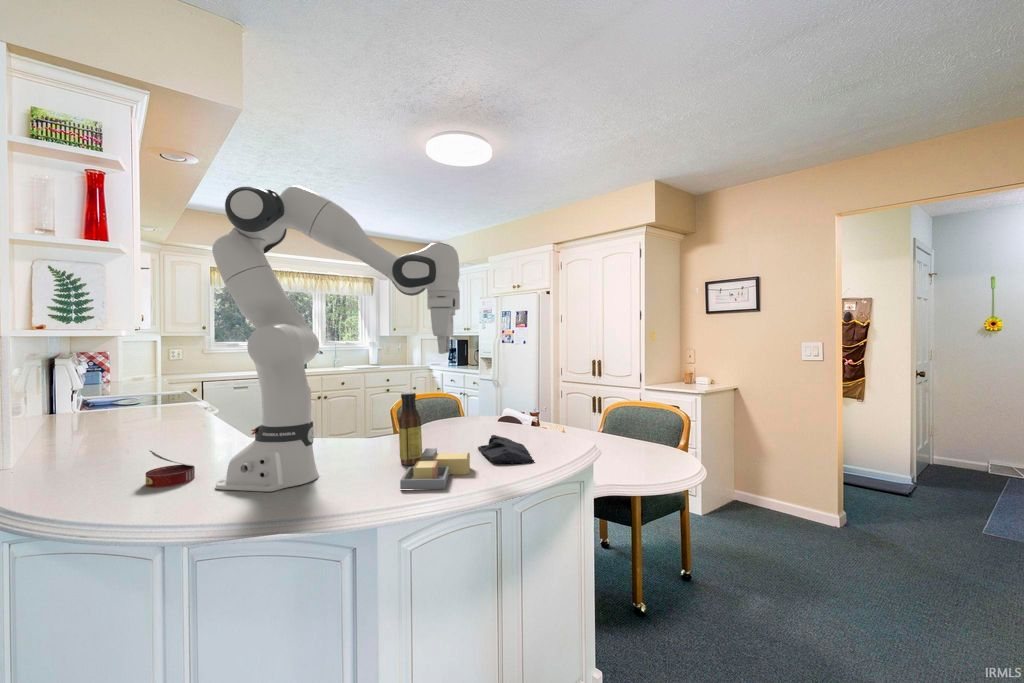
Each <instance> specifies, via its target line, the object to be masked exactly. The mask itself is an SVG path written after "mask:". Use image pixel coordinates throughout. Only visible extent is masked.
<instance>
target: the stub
mask: <svg viewBox="0 0 1024 683" xmlns="http://www.w3.org/2000/svg"><path fill="white" fill-rule="evenodd" d="M413 467H414V468H413V479H437V478H438V461H417V463H416V464H415V465H413Z"/></svg>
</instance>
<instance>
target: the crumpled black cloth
mask: <svg viewBox="0 0 1024 683" xmlns="http://www.w3.org/2000/svg"><path fill="white" fill-rule="evenodd" d="M477 449H478V451H479V452H480V453H481V454H482V456H485V457H486V458H487V460H489V461H491V462H492V463H493V464H494V463H495V464H524V463H527V464H533V463H532V462H534V461H535V460H534V459H532V458H533V457H532V455H531V454H530V452H529V450H528V449H527V448H526V446H525V445H524V444H523V443H520V442H516V441H513V440H512V439H511V438H510V439H509V438H507V437H503V436H500V435H496V434H491V435H490V438H489V439H488V444H486V445H485V444H484V445H480V446H477ZM530 455H531V456H530ZM534 463H535V462H534Z"/></svg>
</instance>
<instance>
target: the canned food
mask: <svg viewBox="0 0 1024 683" xmlns="http://www.w3.org/2000/svg"><path fill="white" fill-rule="evenodd" d="M149 452H150V453H151V454H152V456H154V457H156V458H159V459H160V460H164V461H167V462H170V463H175V465H167V466H161V467H156V468H153V469H150V470H148V471H146V472H145V486H146V487H147V488H153V489H154V488H169V487H175V486H179V485H182V484H187V483H189V482H191V481H194V479H195V476H196V474H195V465H194V464H186V463H181V462H177V461H174V460H171V459H167V458H166V457H163V456H161V455H159V454H157V453H156V452H153V451H152V450H149Z"/></svg>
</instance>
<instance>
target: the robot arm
mask: <svg viewBox="0 0 1024 683" xmlns="http://www.w3.org/2000/svg"><path fill="white" fill-rule="evenodd" d="M224 209H225V214H226V217H227V219H228V221H229V222H230V223H231V224H232V225H233V226H234V227H232V229H231V231H230V232H229V233H227V234H224V235H222V236H220V237H219V238H217V239H216V240H215V241H214V243H213V245H212V247H211V248H212V249H211V251H212V255H213V259H214V261H215V264H216V267H217V270H218V273H219V275H220V277H221V278H222V281H223V283H224V285H225V286H226V288H227V290H228V292H229V294H230V296H231V298H232V300H233V302H235V303H234V304H235V305H236V306H237V307H236V308H237V309H238V310H239V313H240V314H241V315H242V317H244V318H246V319H247V321H249V322H250V323H251V325H252V326H253V327H254V328H255V330H254V331H253V332H252V333H251V335H250V336H249V338H248V341H247V344H246V346H247V352H248V355H249V357H250V358H251V360H252V361H253V363H254V366H255V370H256V374H257V377H258V382H259V386H260V394H261V418H262V419H261V422H262V424H260V425H258V426H257V427H255V428H254V429H251V430H250V431H251V435H254V436H255V437H254V440H253V441H252V442H251V443H249V444H248V445H247V446H246V447H244V448H243V449H241V450H240V451H239V452H238V453H236V454H235V455H234V456H233V457H232V458H231V459H230V460H229V463H228V466H227V472H226V475H225V476H223V477H222V478H220V479H218V480H217V482H216V483H215V490H229V491H247V492H248V491H250V492H268V493H270V492H277V491H280V490H282V489H286V488H290V487H291V488H292V487H296V486H300V485H304V484H307V483H310V482H312V481H315V480H316V479H317V478H319V476H320V474H319V471H318V469H317V464H316V461H315V455H314V454H315V453H314V447H313V443H314V438H315V437H314V436H315V432H314V431H315V430H314V421H312V390H311V387H310V386H309V382H308V379H307V375H306V370H305V365H307V364H308V363H310V362H311V361H312V360H313V359H314V358H315V357H317V356H316V355H317V354H318V351H319V350H320V341H319V338H318V337H317V335H316V333H314V331H312V329H311V327H310V326H309V325H308V323H307V322H306V320H305V319H304V317H303V316H302V315H301V313H300V312H299V311H298V309H297V308H296V306H295V305H294V304H293V302H292V301H291V300H290V299H289V297H288V295H287V294H286V292H285V290H284V288H283V286H282V284H281V282H280V281H279V279H278V277H277V275H276V274H275V272H274V270H273V268H272V267H271V264H269V261H268V259H267V257H266V255H265V254H267V253H268V252H270V250H272V249H273V248H275V247H277V246H278V245H280V244H281V243H282V242H284V240H285V238H286V237H287V236H286V235H287V230H288V229H290V230H295V231H297V232H301V233H302V234H304V235H305V236H307V237H309V239H312V240H314V241H316V242H317V243H319V244H321V245H323V246H325V247H328V248H330V249H333V250H335V251H337V252H340V253H342V254H345V255H347V256H350V257H353V258H355V259H357V260H359V261H360V262H362V263H365V264H366V265H368V266H369V267H371V268H373V269H374V270H376V271H378V272H379V273H381V274H383V275H384V276H386V277H387V278H388V279H389V280H390V281H391V282H392V284H393V285H394V286H395V288H396V289H397V291H399V292H400V293H402V294H403V295H405V296H409V297H411V296H412V297H413V296H417V295H420V294H422V293H424V291H425V290H426V292H427V293H426V297H427V302H426V303H427V304H426V305H427V306H426V307H427V310H429V311H430V321H431V330H432V335H433V336H434V337H437V338H436V340H437V347H438V354H441V355H442V354H443V355H444V354H448V353H449V352H450V343H451V338H452V337H454V316H455V315H456V311H457V310H460V308H461V302H460V301H461V300H460V298H461V297H460V295H461V294H460V287H459V280H460V277H461V276H460V275H461V274H460V261H459V253H458V251H457V250H456V249H455V247H453V246H452V245H451V244H447V243H443V242H432V243H430V244H429V245H427V246H426V247H424V248H422V249H420V250H417V251H414V252H411V253H406V254H403V255H400V256H399V257H398V256H396V255H395V254H393V253H392V252H390V251H388V250H387V249H385V248H384V247H382V246H380V245H379V244H377V243H376V242H375V241H373V239H371V238H370V237H369V236H368V235H367V233H366V232H365V231H364V230H363V227H361V225H360V223H359V222H358V221H357V220H356V218H355V217H354V216H352V214H350V213H349V212H348V211H347V210H345V209H344V208H343V207H342V206H340V204H339V205H338V204H337V203H335V202H334V201H333V200H331V199H329V198H327V197H325V196H324V195H322V194H319V193H318V192H315V191H313V190H310V189H308V188H305V187H304V186H300V185H290V186H289V187H287V188H285V189H284V190H283V191H282V192H281V193H280V195H279V194H278V193H277V192H276V191H275V190H273V189H263V188H258V187H254V186H239V187H236V188H234V189H233V190H231V191H230V192H228V194H227V196H226V199H225V202H224Z"/></svg>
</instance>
